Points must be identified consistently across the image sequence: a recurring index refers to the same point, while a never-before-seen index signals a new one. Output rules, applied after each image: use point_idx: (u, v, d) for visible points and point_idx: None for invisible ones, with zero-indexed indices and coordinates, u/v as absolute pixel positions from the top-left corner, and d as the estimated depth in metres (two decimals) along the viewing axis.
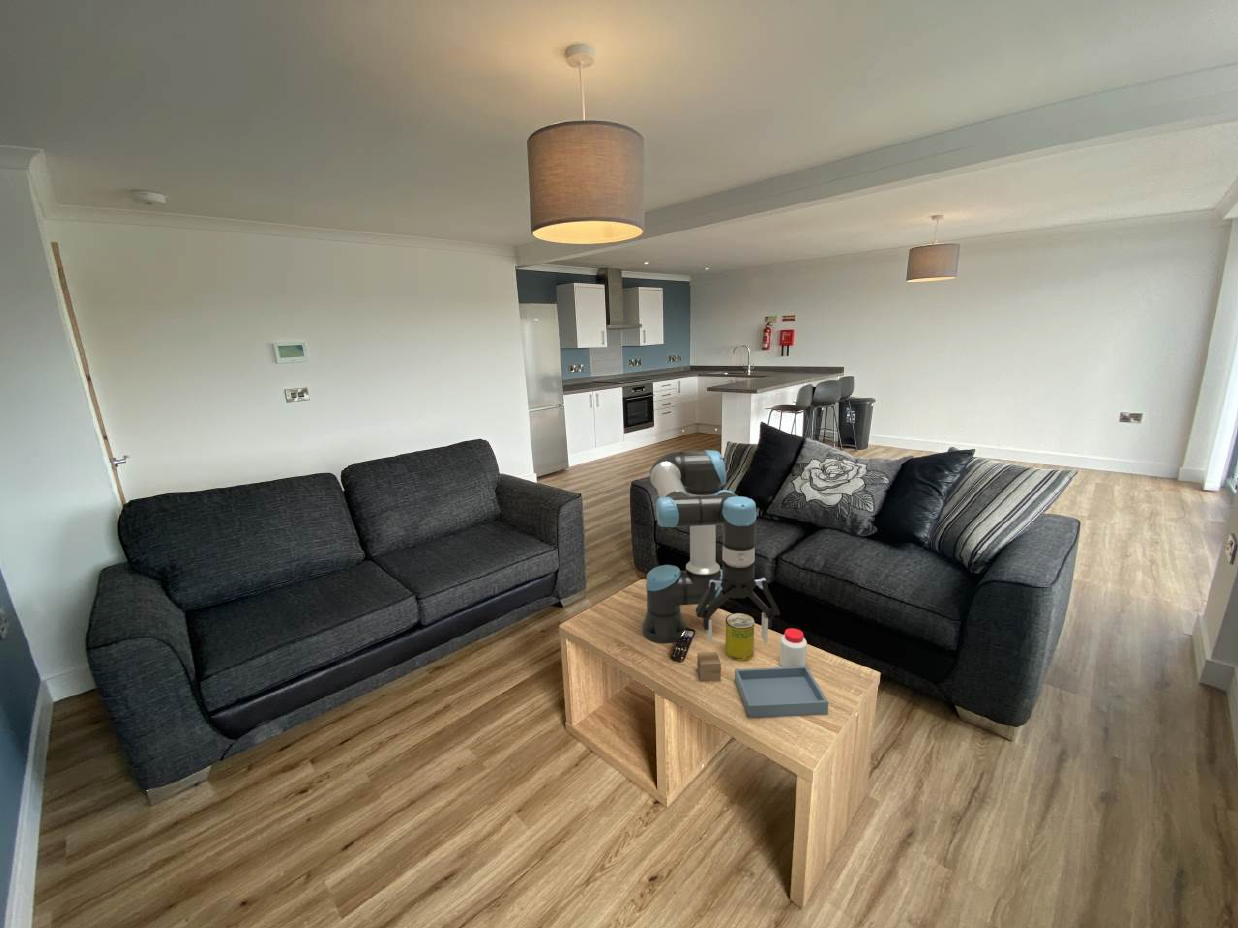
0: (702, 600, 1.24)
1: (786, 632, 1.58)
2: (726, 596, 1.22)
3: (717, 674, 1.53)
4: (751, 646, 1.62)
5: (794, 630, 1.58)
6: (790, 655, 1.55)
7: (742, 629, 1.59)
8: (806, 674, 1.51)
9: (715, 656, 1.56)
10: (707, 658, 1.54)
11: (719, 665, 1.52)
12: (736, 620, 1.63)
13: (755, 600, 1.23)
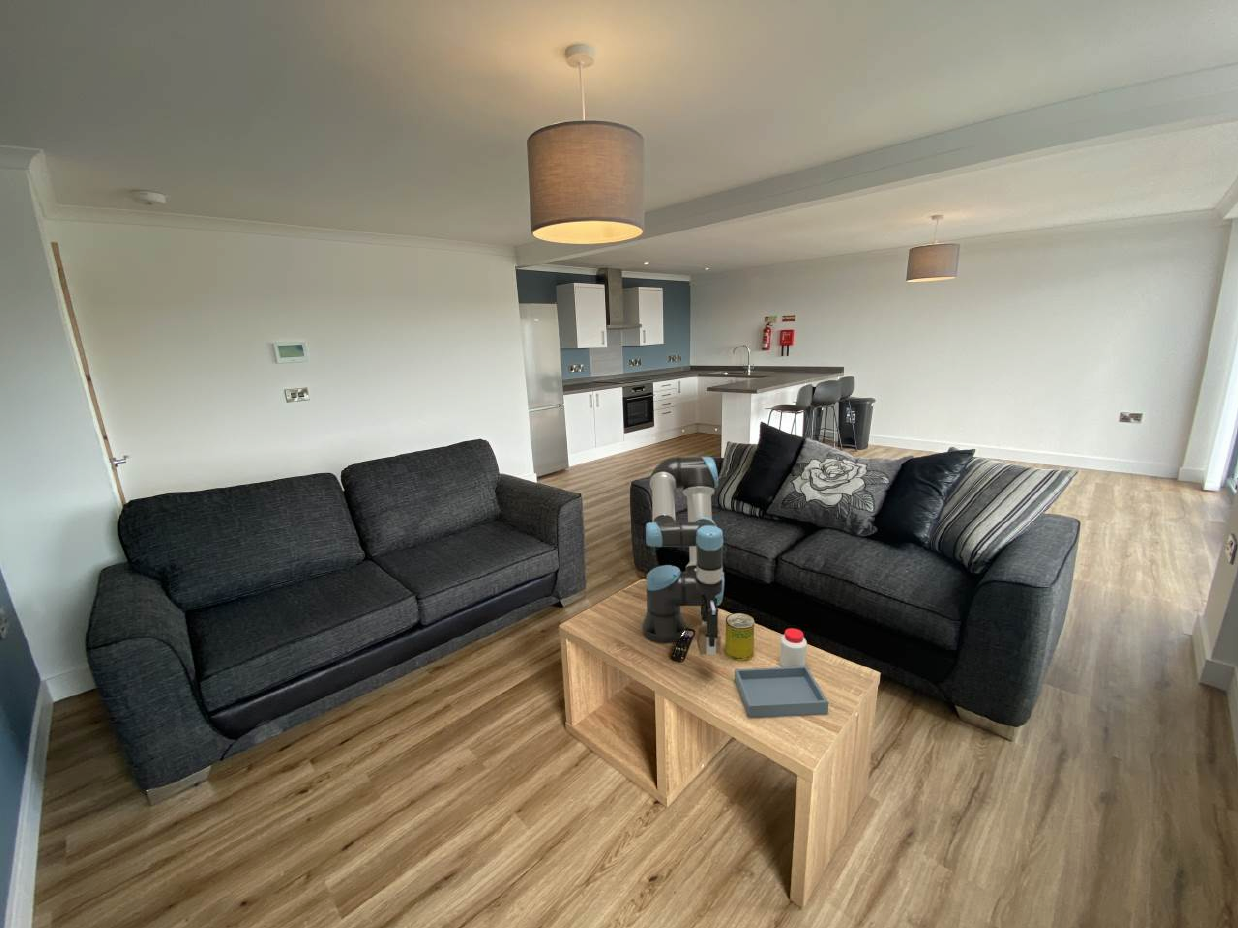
0: None
1: (786, 632, 1.58)
2: (701, 601, 1.53)
3: (717, 646, 1.51)
4: (751, 646, 1.62)
5: (794, 630, 1.58)
6: (790, 655, 1.55)
7: (742, 629, 1.59)
8: (806, 674, 1.51)
9: None
10: None
11: (719, 638, 1.50)
12: (736, 620, 1.63)
13: (706, 615, 1.49)
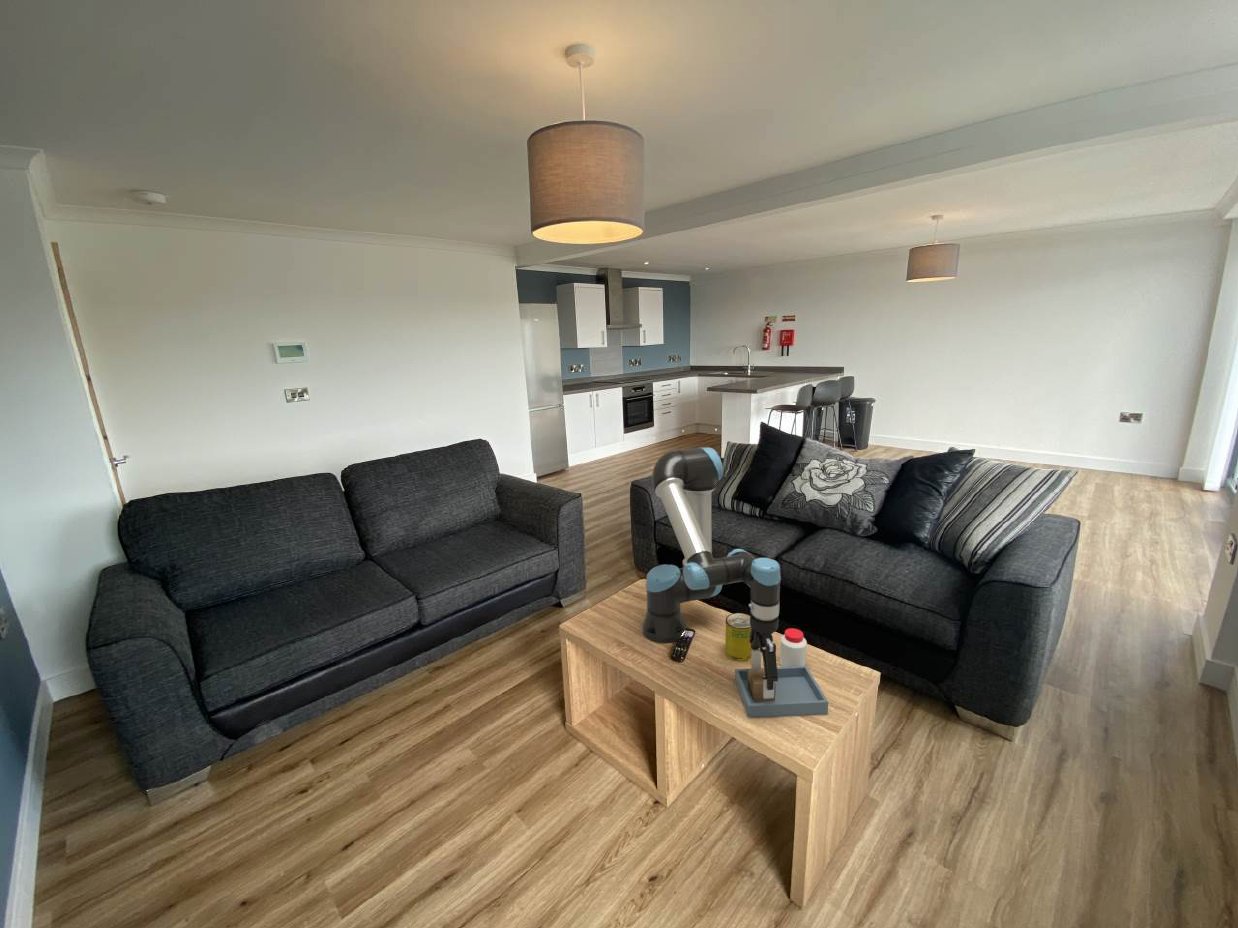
0: None
1: (786, 632, 1.58)
2: (754, 635, 1.44)
3: None
4: None
5: (794, 630, 1.58)
6: (790, 655, 1.55)
7: (742, 629, 1.59)
8: (806, 674, 1.51)
9: None
10: (760, 677, 1.44)
11: (774, 684, 1.42)
12: (736, 620, 1.63)
13: (762, 654, 1.38)
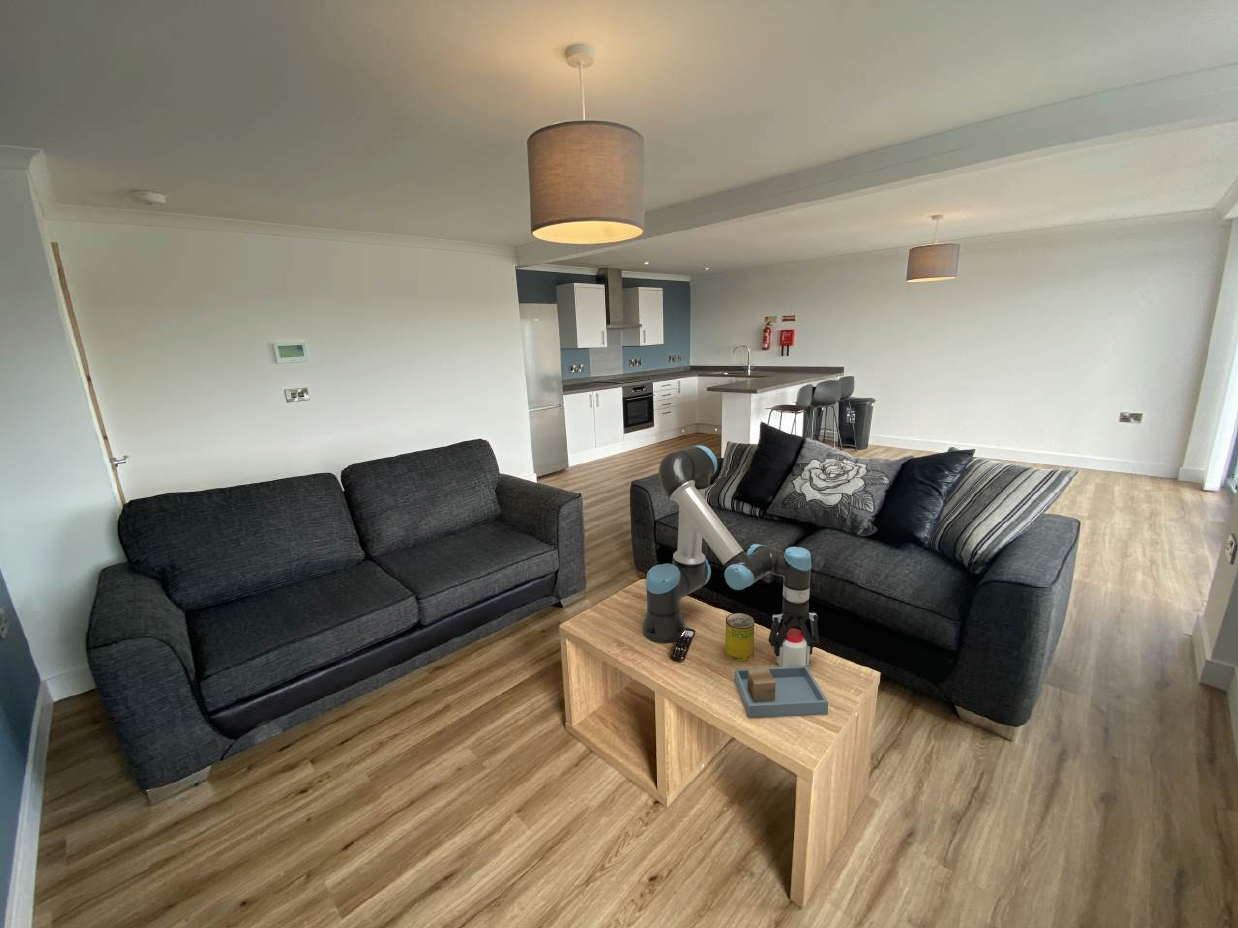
0: (771, 632, 1.57)
1: None
2: (788, 626, 1.54)
3: (772, 693, 1.42)
4: (751, 646, 1.62)
5: (794, 630, 1.58)
6: (790, 655, 1.55)
7: (742, 629, 1.59)
8: (806, 674, 1.51)
9: (768, 674, 1.45)
10: (760, 677, 1.44)
11: (774, 684, 1.42)
12: (736, 620, 1.63)
13: (805, 630, 1.55)
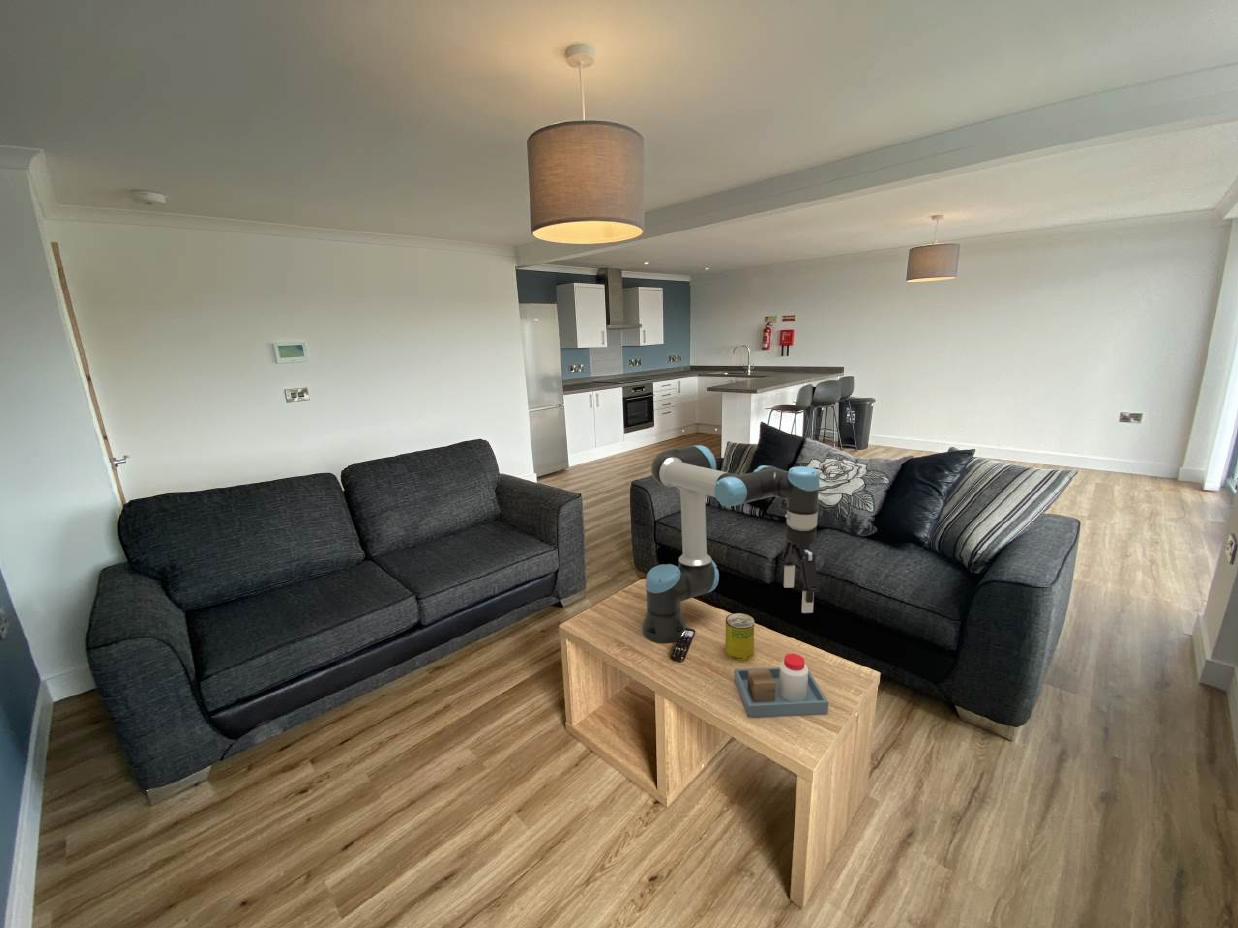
0: None
1: (793, 654, 1.45)
2: (789, 550, 1.38)
3: (772, 693, 1.42)
4: (751, 646, 1.62)
5: (799, 660, 1.43)
6: None
7: (742, 629, 1.59)
8: None
9: (768, 674, 1.45)
10: (760, 677, 1.44)
11: (774, 684, 1.42)
12: (736, 620, 1.63)
13: (800, 567, 1.32)
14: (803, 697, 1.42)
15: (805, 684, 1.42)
